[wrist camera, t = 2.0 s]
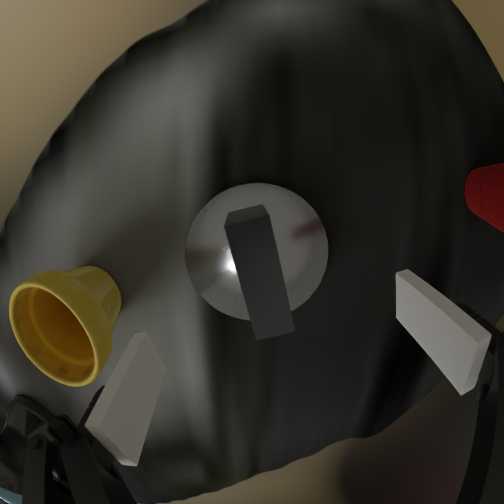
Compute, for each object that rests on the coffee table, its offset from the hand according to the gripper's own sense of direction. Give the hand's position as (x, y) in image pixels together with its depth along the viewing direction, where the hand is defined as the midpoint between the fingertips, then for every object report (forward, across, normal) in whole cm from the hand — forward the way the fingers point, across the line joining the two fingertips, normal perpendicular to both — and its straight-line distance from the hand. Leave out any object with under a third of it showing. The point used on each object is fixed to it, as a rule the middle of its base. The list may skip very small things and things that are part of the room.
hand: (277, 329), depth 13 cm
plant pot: (+13, +18, 0) cm, 23 cm away
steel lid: (+13, 0, 0) cm, 13 cm away
